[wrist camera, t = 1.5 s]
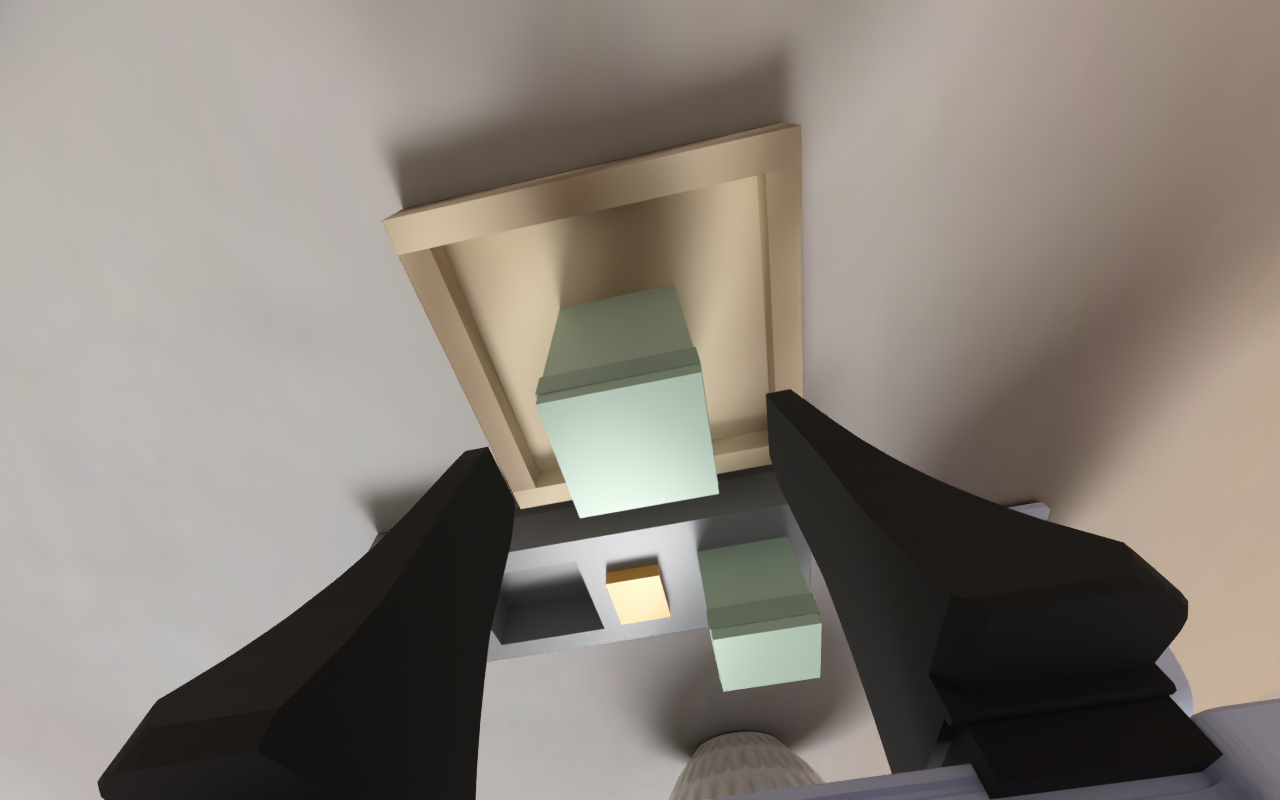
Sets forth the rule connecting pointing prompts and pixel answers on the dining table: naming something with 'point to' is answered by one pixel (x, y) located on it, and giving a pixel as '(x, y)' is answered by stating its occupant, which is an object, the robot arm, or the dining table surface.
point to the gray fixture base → (667, 580)
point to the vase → (742, 768)
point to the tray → (620, 283)
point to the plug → (627, 404)
